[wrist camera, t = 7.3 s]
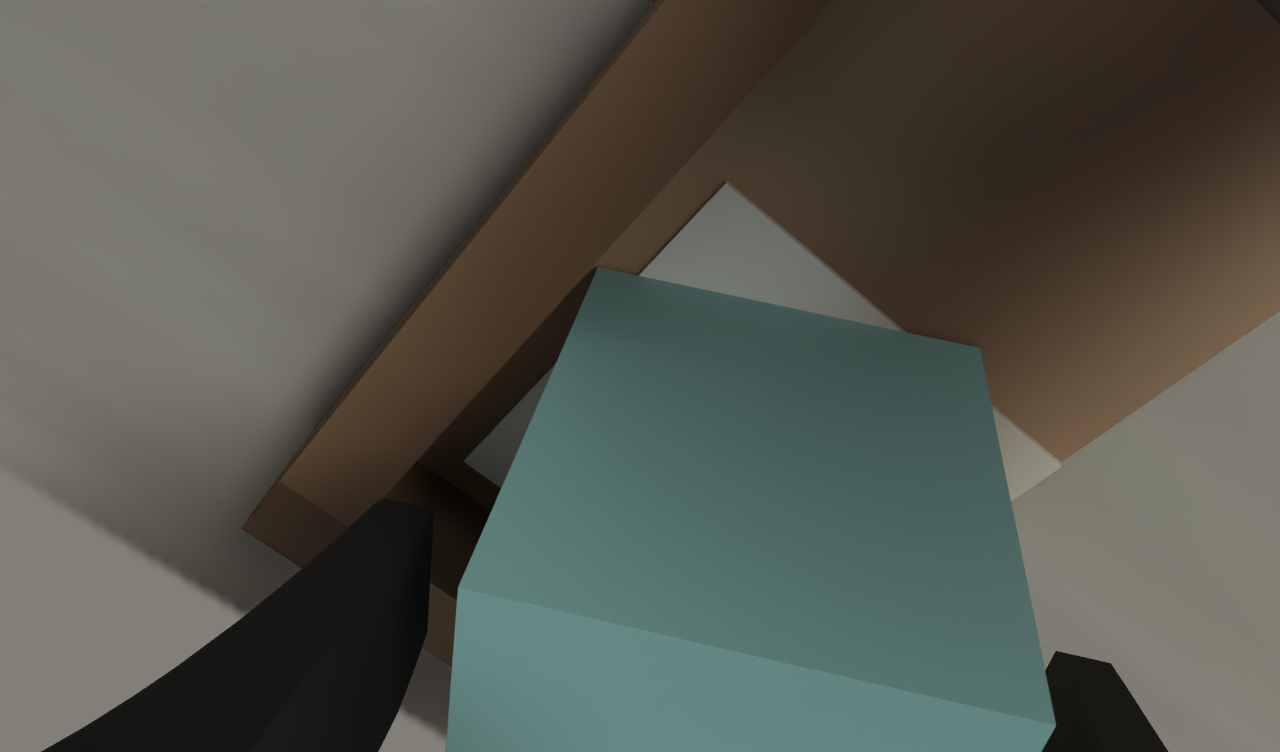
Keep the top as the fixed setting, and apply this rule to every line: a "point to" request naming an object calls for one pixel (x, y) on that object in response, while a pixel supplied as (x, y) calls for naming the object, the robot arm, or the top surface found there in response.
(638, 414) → the block
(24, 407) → the top surface
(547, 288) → the tray
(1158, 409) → the top surface
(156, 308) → the top surface
